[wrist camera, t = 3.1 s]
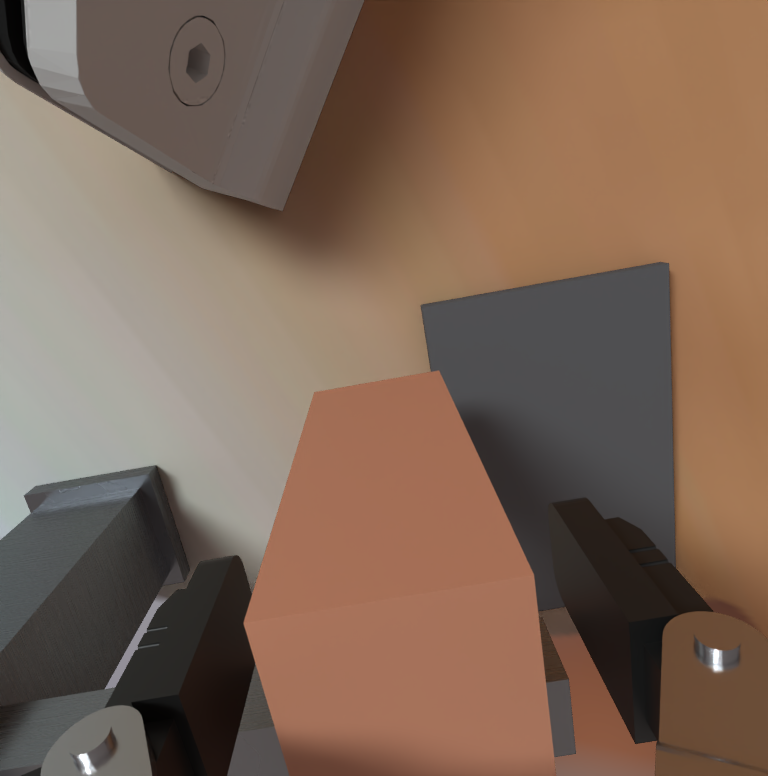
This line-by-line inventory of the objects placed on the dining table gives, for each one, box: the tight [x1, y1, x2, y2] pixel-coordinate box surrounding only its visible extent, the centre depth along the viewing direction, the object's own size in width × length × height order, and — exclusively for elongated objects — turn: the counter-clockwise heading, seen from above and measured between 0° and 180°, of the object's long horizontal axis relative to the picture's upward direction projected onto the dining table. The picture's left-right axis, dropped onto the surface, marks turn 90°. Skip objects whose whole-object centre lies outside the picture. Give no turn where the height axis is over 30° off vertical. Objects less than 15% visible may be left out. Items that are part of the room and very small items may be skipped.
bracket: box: [0, 465, 576, 776], centre depth 17 cm, size 18×5×14 cm, turn 100°
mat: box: [421, 262, 676, 611], centre depth 22 cm, size 9×14×1 cm, turn 10°
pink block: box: [244, 371, 556, 776], centre depth 14 cm, size 4×11×10 cm, turn 10°
